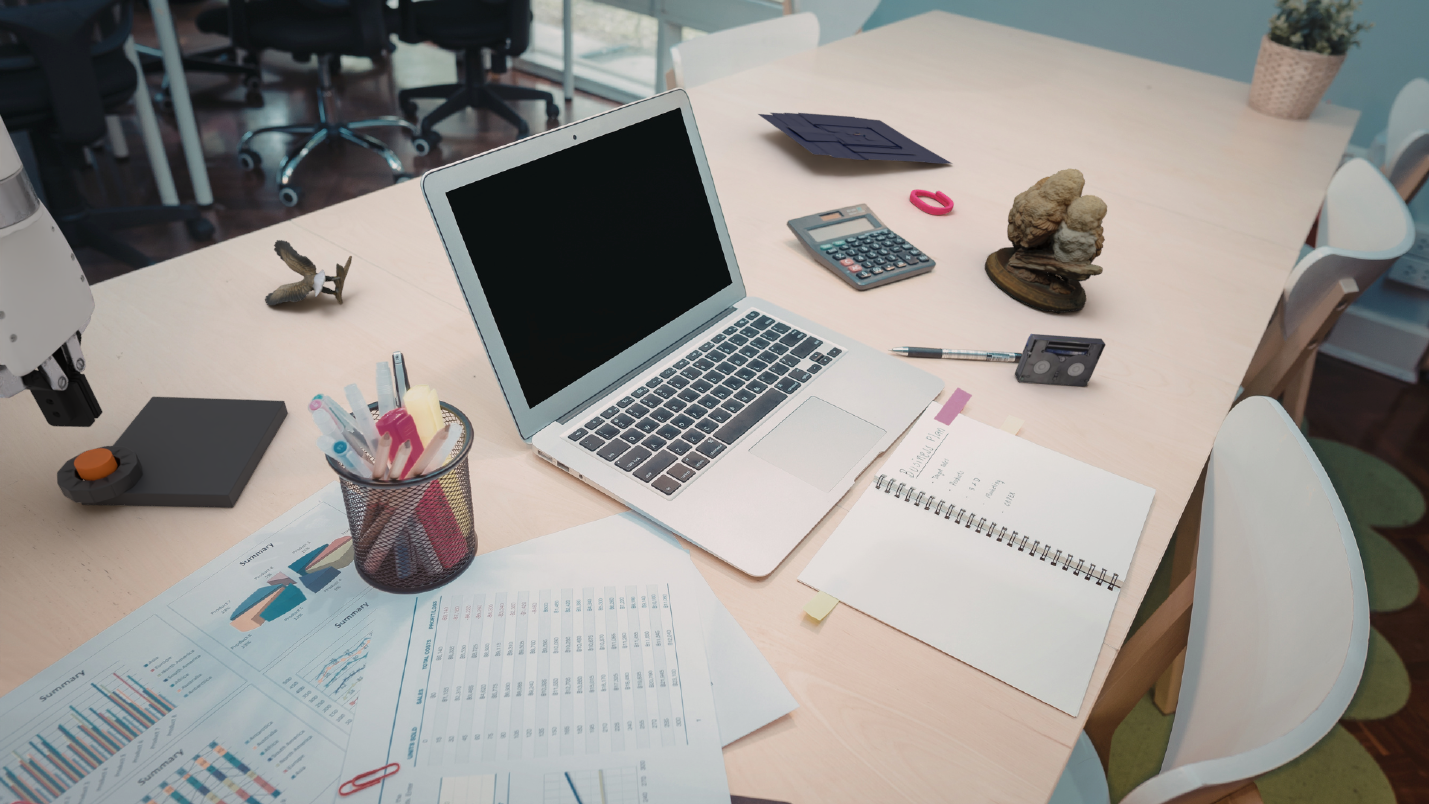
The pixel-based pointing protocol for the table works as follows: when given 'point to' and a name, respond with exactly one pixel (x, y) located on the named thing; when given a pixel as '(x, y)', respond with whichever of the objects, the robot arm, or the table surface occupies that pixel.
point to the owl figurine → (1051, 244)
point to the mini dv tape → (1059, 360)
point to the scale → (182, 454)
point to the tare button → (95, 464)
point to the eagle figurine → (305, 277)
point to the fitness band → (937, 196)
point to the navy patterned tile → (850, 137)
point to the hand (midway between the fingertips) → (76, 419)
